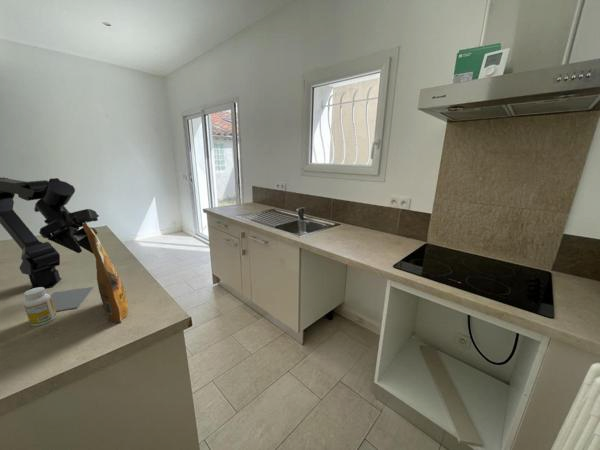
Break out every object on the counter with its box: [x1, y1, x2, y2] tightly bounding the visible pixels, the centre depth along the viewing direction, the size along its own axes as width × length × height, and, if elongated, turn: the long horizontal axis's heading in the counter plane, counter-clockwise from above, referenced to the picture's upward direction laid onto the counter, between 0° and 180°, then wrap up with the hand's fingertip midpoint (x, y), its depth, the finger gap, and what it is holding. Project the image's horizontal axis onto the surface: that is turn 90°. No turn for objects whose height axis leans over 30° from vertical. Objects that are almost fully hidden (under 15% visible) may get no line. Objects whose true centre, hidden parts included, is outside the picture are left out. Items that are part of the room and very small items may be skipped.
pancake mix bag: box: [82, 222, 129, 323], centre depth 72 cm, size 7×19×28 cm, turn 38°
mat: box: [49, 286, 94, 313], centre depth 80 cm, size 11×13×1 cm
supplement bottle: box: [22, 287, 57, 327], centre depth 69 cm, size 5×5×10 cm
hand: (88, 252), depth 78 cm, fingers open, 9 cm apart
